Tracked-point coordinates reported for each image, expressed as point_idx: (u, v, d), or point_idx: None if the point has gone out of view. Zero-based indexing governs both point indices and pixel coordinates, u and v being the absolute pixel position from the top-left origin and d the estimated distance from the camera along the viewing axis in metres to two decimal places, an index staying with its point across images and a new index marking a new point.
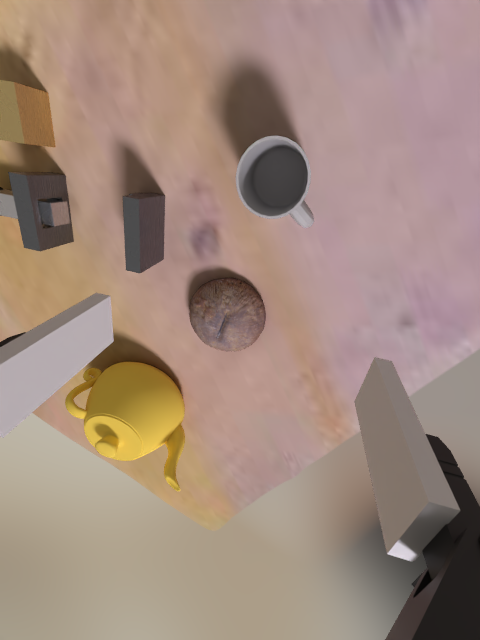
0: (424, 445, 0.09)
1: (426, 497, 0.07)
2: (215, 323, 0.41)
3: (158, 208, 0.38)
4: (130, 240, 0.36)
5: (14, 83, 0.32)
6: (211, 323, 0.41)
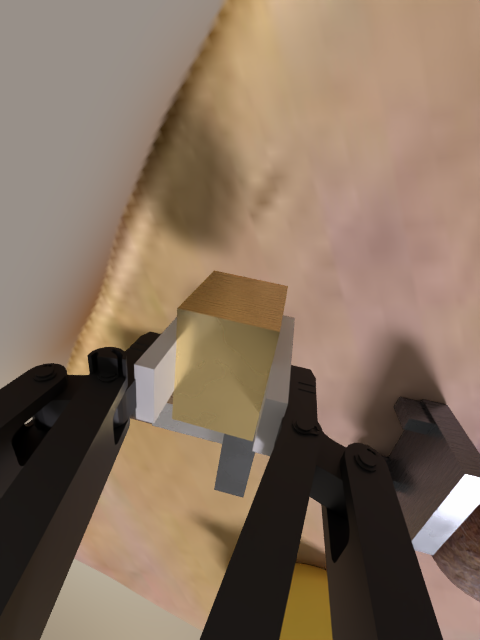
0: (285, 368, 0.11)
1: (265, 396, 0.10)
2: None
3: None
4: (441, 521, 0.20)
5: (279, 333, 0.11)
6: None
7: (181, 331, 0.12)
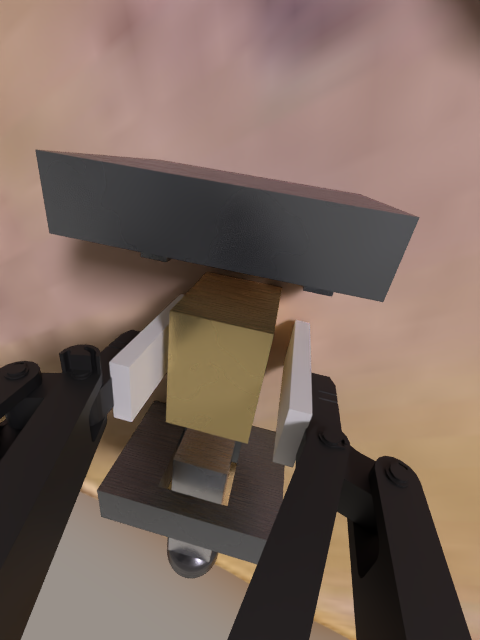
0: (306, 376, 0.11)
1: (289, 406, 0.09)
2: None
3: (173, 164, 0.11)
4: (227, 238, 0.07)
5: None
6: None
7: (174, 334, 0.11)
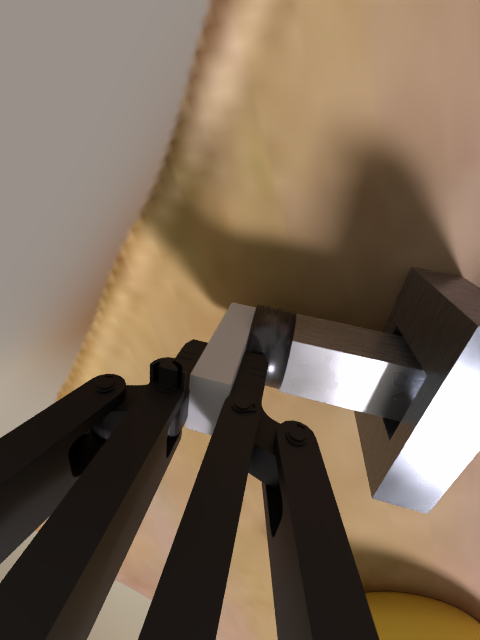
0: (236, 353, 0.12)
1: (210, 377, 0.10)
2: None
3: None
4: None
5: None
6: None
7: None
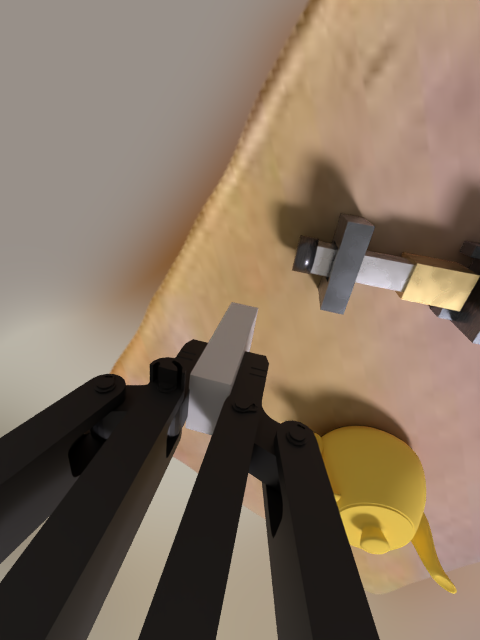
0: (236, 353, 0.12)
1: (211, 378, 0.10)
2: None
3: None
4: None
5: (458, 310, 0.30)
6: None
7: (468, 275, 0.29)
